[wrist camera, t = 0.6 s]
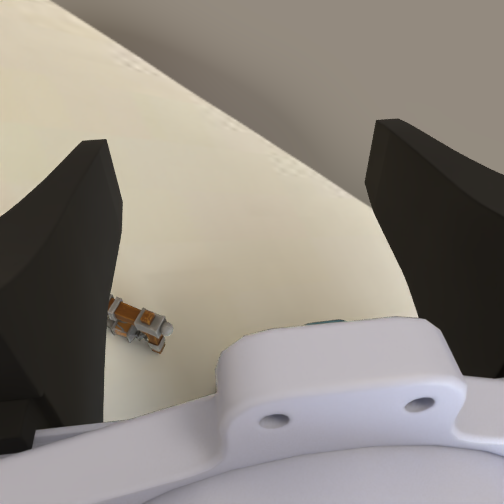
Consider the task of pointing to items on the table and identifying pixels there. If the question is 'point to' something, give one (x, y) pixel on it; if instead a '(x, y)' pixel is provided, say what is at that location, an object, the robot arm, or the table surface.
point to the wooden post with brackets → (138, 324)
